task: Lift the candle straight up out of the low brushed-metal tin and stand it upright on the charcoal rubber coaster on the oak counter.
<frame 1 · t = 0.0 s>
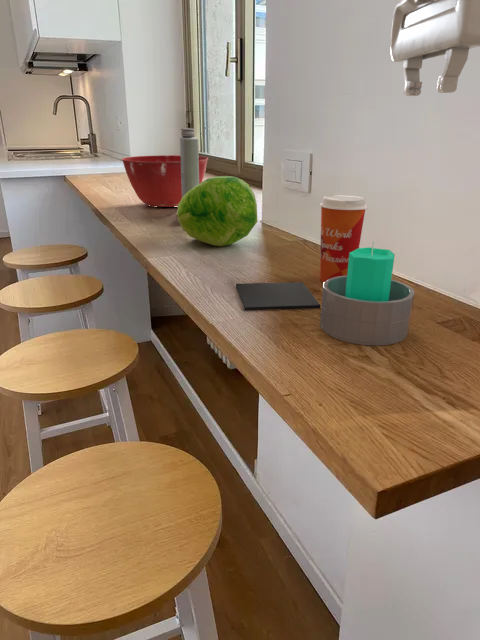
hand: (427, 94, 65), 31 cm above the worktop, tool pointing down, fingers open, 8 cm apart
tin: (363, 327, 70), on the worktop
mixing bowl: (167, 205, 168), on the worktop
lettuce: (215, 245, 116), on the worktop
flask: (190, 221, 142), on the worktop
coffee cup: (336, 281, 91), on the worktop
candle: (363, 326, 70), resting on tin
coaster: (275, 297, 82), on the worktop
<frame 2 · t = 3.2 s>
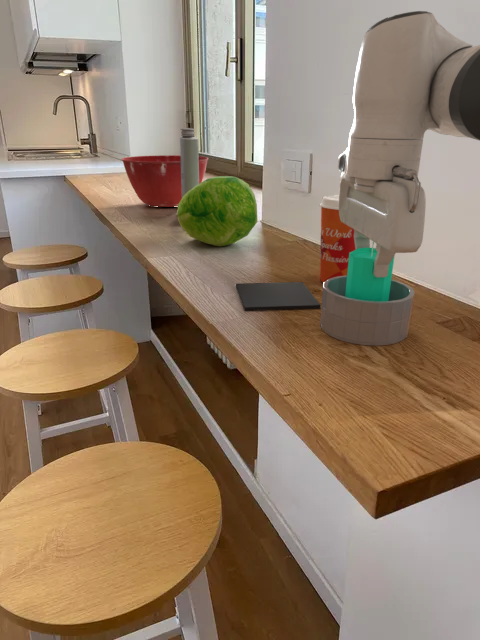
hand: (370, 269, 67), 9 cm above the worktop, tool pointing down, fingers closed on candle, 5 cm apart
candle: (363, 326, 70), resting on tin, touching gripper
everything else where it was.
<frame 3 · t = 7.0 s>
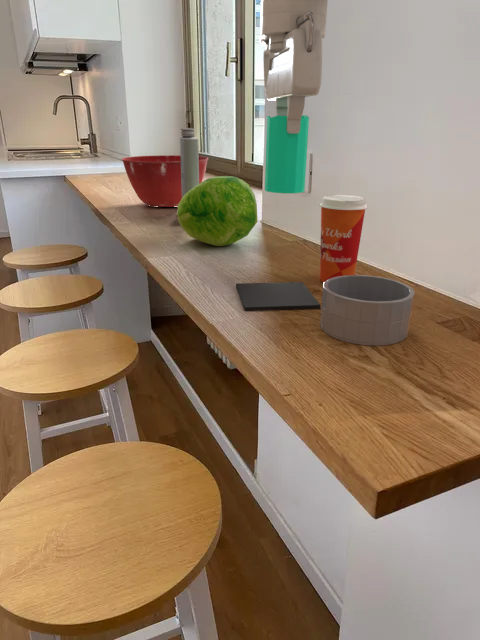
hand: (287, 132, 72), 26 cm above the worktop, tool pointing down, fingers closed on candle, 5 cm apart
candle: (284, 192, 75), point 17 cm above the worktop, touching gripper
everything else where it was.
when the fingers open (9 cm above the worktop, at t = 11.0 s): candle stays where it is, resting on coaster.
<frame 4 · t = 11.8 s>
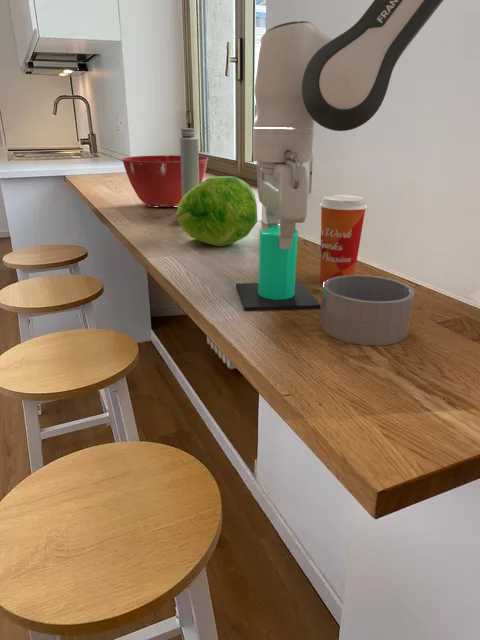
hand: (278, 241, 79), 9 cm above the worktop, tool pointing down, fingers open, 8 cm apart
candle: (276, 294, 82), resting on coaster
everything else where it was.
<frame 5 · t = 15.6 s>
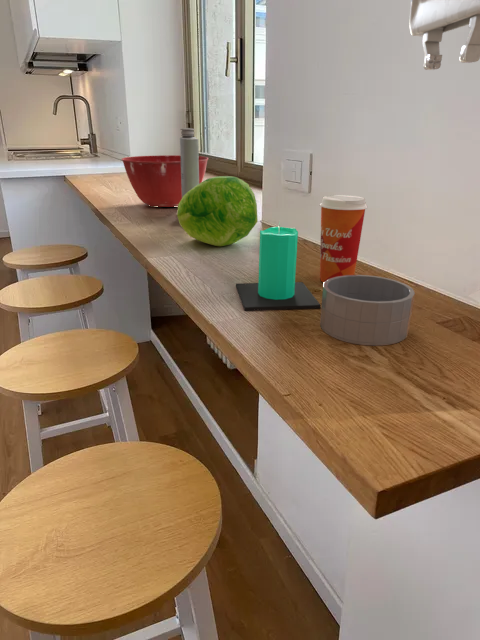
hand: (449, 66, 64), 34 cm above the worktop, tool pointing down, fingers open, 8 cm apart
nothing on the worktop moved.
at the end: candle inside the target area on the coaster (0.1 cm from its centre), point 0.4 cm above the coaster's base; candle tilted 0°; the gripper is holding nothing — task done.
